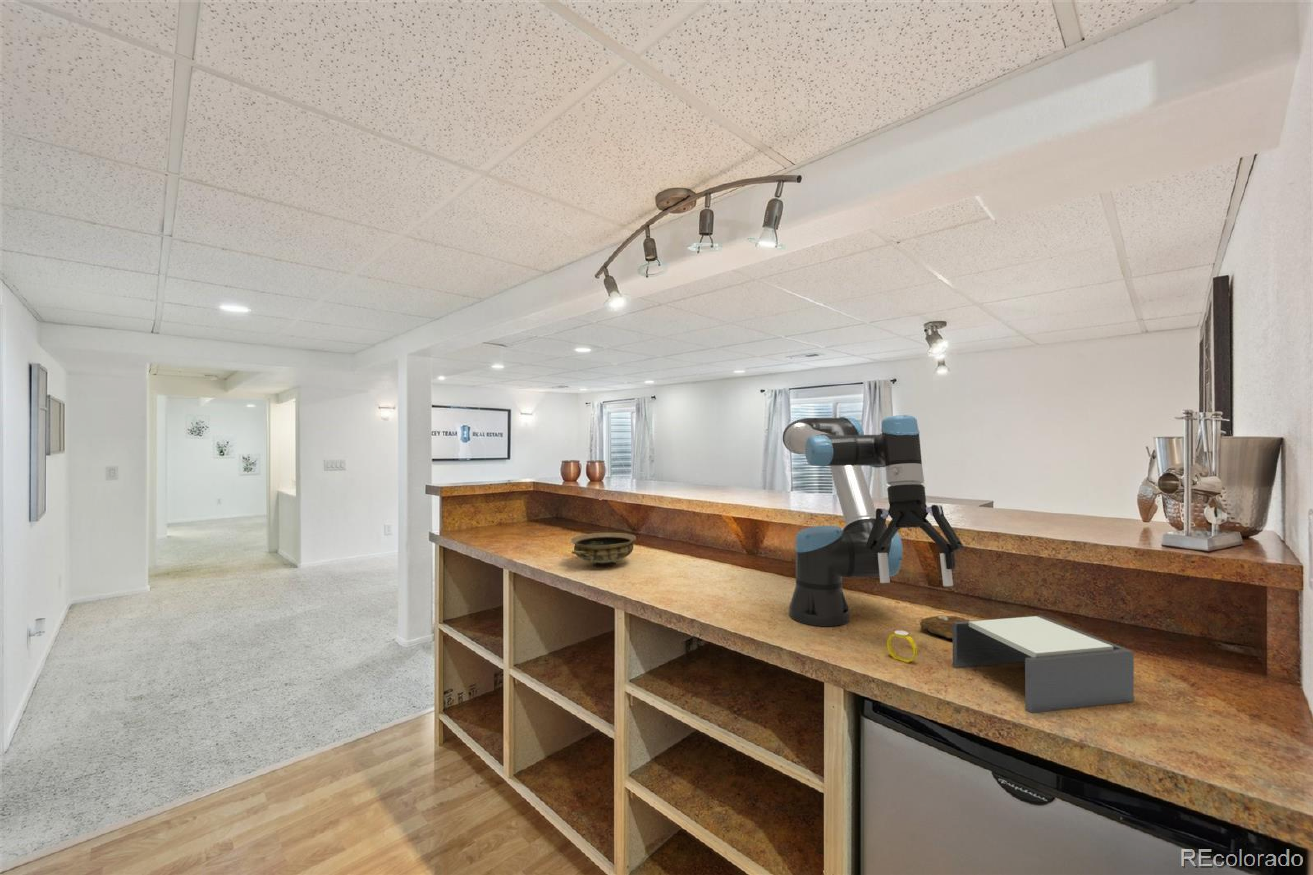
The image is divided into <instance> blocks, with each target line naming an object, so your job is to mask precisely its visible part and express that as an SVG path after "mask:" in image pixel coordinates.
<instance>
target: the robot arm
mask: <svg viewBox="0 0 1313 875" xmlns="http://www.w3.org/2000/svg"><path fill="white" fill-rule="evenodd" d="M880 432H881V433H880V434H865V432H864V430H863V426H862V424H861V423H860V422H859V421H858V420H857V419H856V418H854V417H845V416H839V417H806V418H805V417H804V418H799V419H796V420H794V421H792V422H790V423H789V424H788V425H787V426H786V427H785V429H784V430H783V432H782V443H783V445H784V446H785V448H786V449H787V450H788V451H789V452H791V453H793V454H795V455H804V456H805V459H806V461H807V463H808V464H809V465H810V466H812V467H813V466H814V467H824V468H825V467H829V468H830V472H831V475H832V480H833V483H834V487H835V490H836V491H835V492H836V493H837V498H838V501H839V505H840V509H841V512H842V515H843V520H844V523H845V525H844V527H843V528H841V527H840V526H837V525H815V526H810V527H806V528H802V529H800V530H799V531H798V532H797V533H796V536H795V537H796V538H795V546H794V551H795V588H794V590H793V594H792V596H791V600H790V603H789V607H788V608H789V612H788V613H789V614H788V615H789V617H791V619H793V620H795V621H796V622H799V623H801V624H805V625H810V626H814V627H815V626H816V627H817V626H818V627H836V626H841V625H844V624H847V623H848V622H849V621H850V608H849V605H848V603H847V599H846V596H845V594H844V590H843V578H878V579H879V583H880V584H888V583H889V584H890V583H891V582H890V581H891V580H890V579H891V577H894V576H896V575H897V574H898V573H899V572H900V569H901V567H902V564H903V562H902V561H903V556H904V554H903V553H904V552H903V551H904V550H903V542H902V541H903V540H902V538H901V536H900V534H899V533H898V531H899V530H900V529H902V528H903V529H905V528H906V529H909V528H920V529H921V530H922V531H924V533H926V535H927V536H928V537H929V538H930V539H931V540H932V541H933V542H934V543H935V544H936V545H937V546H938V548H940V549H941V550H942V553H940V552H939V558H940V567H941V577H942V586H943V587H952V586H954V582H953V573H952V572H953V571H952V570H955V569H956V559H955V554H956V552H957V551H960V550H963V549H964V544H963V543H962V541H961V540H960V538H959V536H958V535H957V533H956V531H955V530H954V528H953V527H952V526H951V524H950V523H949V521H948V520H947V518H946V516H945V514H944V510H943V506H942V505H940V504H939V505H938V504H932V505H931V506H927V504H926V502H927V498H926V497H927V496H926V489H925V486H924V485H923V483H924V482H925V478H924V471H923V462H922V452H921V439H920V431H919V424H918V420H917V418H916V417H915V416H913V415H908V414H905V415H904V414H902V415H891V416H888V417H885V418H883V420H882V421H881V428H880ZM863 466H865V467H867V466H869V467H871V468H874V469H875V468H876V469H878V468H885V477H886V484H887V485H888V487H887V489H886V490H887V499H888V503H889V507H888V509H886V508H876V507H875V504H874V501H873V499H872V495H871V493H870V489H869V486H868V483H867V479H866V478H865V475H864V471H863V469H862V467H863ZM928 514H930V516H931V517H933V519H934V521H935V522H936V525H937V526H938V528H940V531H941V532H942V534H943V535H944V536H943V535H942V534H941V533H940V532H939V531H938V529H935V527H934V526H933V525H932V523H931V522H930V521H929V520H928V519H927V516H928ZM888 517H890V518H891V520H890V522H889V523H888V525H887V519H888ZM944 537H945V538H944Z"/></svg>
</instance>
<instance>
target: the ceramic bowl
mask: <svg viewBox="0 0 1313 875" xmlns="http://www.w3.org/2000/svg"><path fill="white" fill-rule="evenodd" d="M636 538H637V537H636V535H634V534H629V533H623V532H593V533H585V534H580V535H577V536H575V537H573V538H571V539H570V542H571V543H573V545H574V546H573V550H572V551H571V553H572V555H576V556H577V557H578V558H579V559H582V560H584V561H587V562H590V563H593V566H594V567H597V568H598V567H599V568H609V567H614V566H615V565H616V562H617V561H620V560H623V559H625V558H626V557H628V556H630V555H631V554H632V552H633V550H634V541H635V540H636Z"/></svg>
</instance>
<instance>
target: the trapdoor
mask: <svg viewBox="0 0 1313 875" xmlns="http://www.w3.org/2000/svg"><path fill="white" fill-rule="evenodd" d="M1033 616H1034V617H1027V616H1020V617H1021V618H1014V617H1007V618H1008V619H1001V618H994V619H995V620H988V619H981V620H982V621H975V620H970V621H969V627H971V628H973V629H975V630H977V631H979V632H981V633H983V634H986V635H988V636H990V637H992V638H994V639H996V640H998V641H1000V642H1002V643H1004V644H1006V645H1008V646H1010V647H1012V648H1015V649H1017V650H1019V651H1021V652H1023V653H1025V654H1027V655H1029V656H1031V657H1041V656H1052V655H1063V654H1074V653H1085V652H1096V651H1107V650H1113V646H1111V645H1109V644H1106V643H1103V642H1101V641H1098V640H1096V639H1093V638H1091V637H1088V636H1086V635H1083V634H1080V633H1078V632H1075V631H1073V630H1070V629H1068V628H1065V627H1063V626H1060V625H1057V624H1055V623H1052V622H1050V621H1047V620H1045V619H1042V618H1040V617H1037V616H1038V615H1033Z"/></svg>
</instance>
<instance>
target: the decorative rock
mask: <svg viewBox="0 0 1313 875" xmlns="http://www.w3.org/2000/svg"><path fill="white" fill-rule="evenodd" d="M962 621H971V620H970V619H966V618H964V617H960V616H957V615H956V616H955V615H935V616H934V615H933V616H930V617H925V618H922V619H921V620H920V622H919V624H920V627H921V628H922V629H924V631H926V630H928V631H929V632H930V633H931V635H933V634H935V635H938V636H940V637H945V638H946V639H947V640H948V639H952V640H953V622H962Z"/></svg>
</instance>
